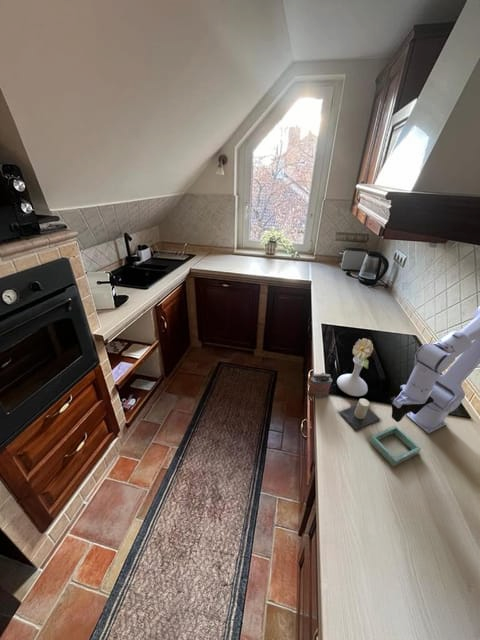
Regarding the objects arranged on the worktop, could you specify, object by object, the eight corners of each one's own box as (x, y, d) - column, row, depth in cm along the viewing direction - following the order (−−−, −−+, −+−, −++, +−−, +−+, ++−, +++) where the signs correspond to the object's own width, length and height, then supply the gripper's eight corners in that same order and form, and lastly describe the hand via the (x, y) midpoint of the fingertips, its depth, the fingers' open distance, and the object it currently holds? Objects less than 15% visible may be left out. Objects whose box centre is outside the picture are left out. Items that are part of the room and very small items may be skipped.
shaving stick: (359, 410, 91) (364, 397, 88) (366, 417, 88) (372, 404, 85) (352, 412, 90) (356, 400, 86) (359, 420, 87) (364, 407, 84)
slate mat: (362, 403, 94) (362, 402, 94) (379, 419, 88) (379, 418, 88) (339, 412, 90) (339, 411, 90) (355, 430, 84) (355, 428, 84)
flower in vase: (335, 375, 107) (349, 325, 95) (364, 381, 105) (382, 330, 92) (337, 398, 96) (353, 344, 84) (369, 405, 94) (391, 350, 81)
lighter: (326, 390, 99) (331, 371, 94) (329, 397, 96) (335, 377, 92) (306, 390, 99) (310, 371, 94) (308, 397, 96) (313, 377, 91)
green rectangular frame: (393, 430, 85) (395, 425, 83) (418, 453, 78) (421, 448, 76) (369, 441, 81) (371, 436, 80) (393, 466, 74) (396, 461, 73)
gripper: (424, 368, 77) (408, 399, 84) (390, 380, 72) (376, 412, 79) (448, 383, 72) (429, 415, 78) (413, 397, 67) (396, 431, 73)
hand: (403, 415), depth 78 cm, fingers open, 7 cm apart
